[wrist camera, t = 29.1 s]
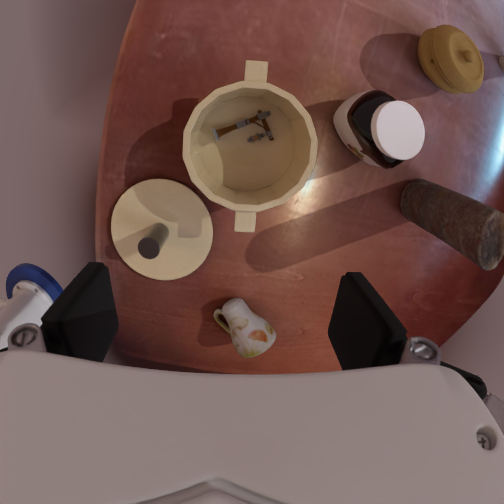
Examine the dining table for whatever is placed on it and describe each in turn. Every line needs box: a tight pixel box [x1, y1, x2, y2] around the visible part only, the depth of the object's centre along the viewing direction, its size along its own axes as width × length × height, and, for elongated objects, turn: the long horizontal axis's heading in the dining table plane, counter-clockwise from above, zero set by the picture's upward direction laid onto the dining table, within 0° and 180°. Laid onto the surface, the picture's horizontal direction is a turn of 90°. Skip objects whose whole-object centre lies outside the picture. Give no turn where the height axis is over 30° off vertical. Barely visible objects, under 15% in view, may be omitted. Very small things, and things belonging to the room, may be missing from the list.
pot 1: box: [182, 60, 318, 232], centre depth 33 cm, size 15×20×8 cm
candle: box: [400, 179, 504, 270], centre depth 32 cm, size 8×7×20 cm
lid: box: [111, 178, 213, 280], centre depth 37 cm, size 16×16×7 cm
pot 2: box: [418, 25, 484, 94], centre depth 27 cm, size 12×12×10 cm
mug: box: [214, 298, 276, 358], centre depth 45 cm, size 8×10×10 cm
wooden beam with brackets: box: [212, 110, 274, 143], centre depth 35 cm, size 2×8×4 cm
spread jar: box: [333, 90, 425, 169], centre depth 31 cm, size 12×11×12 cm
